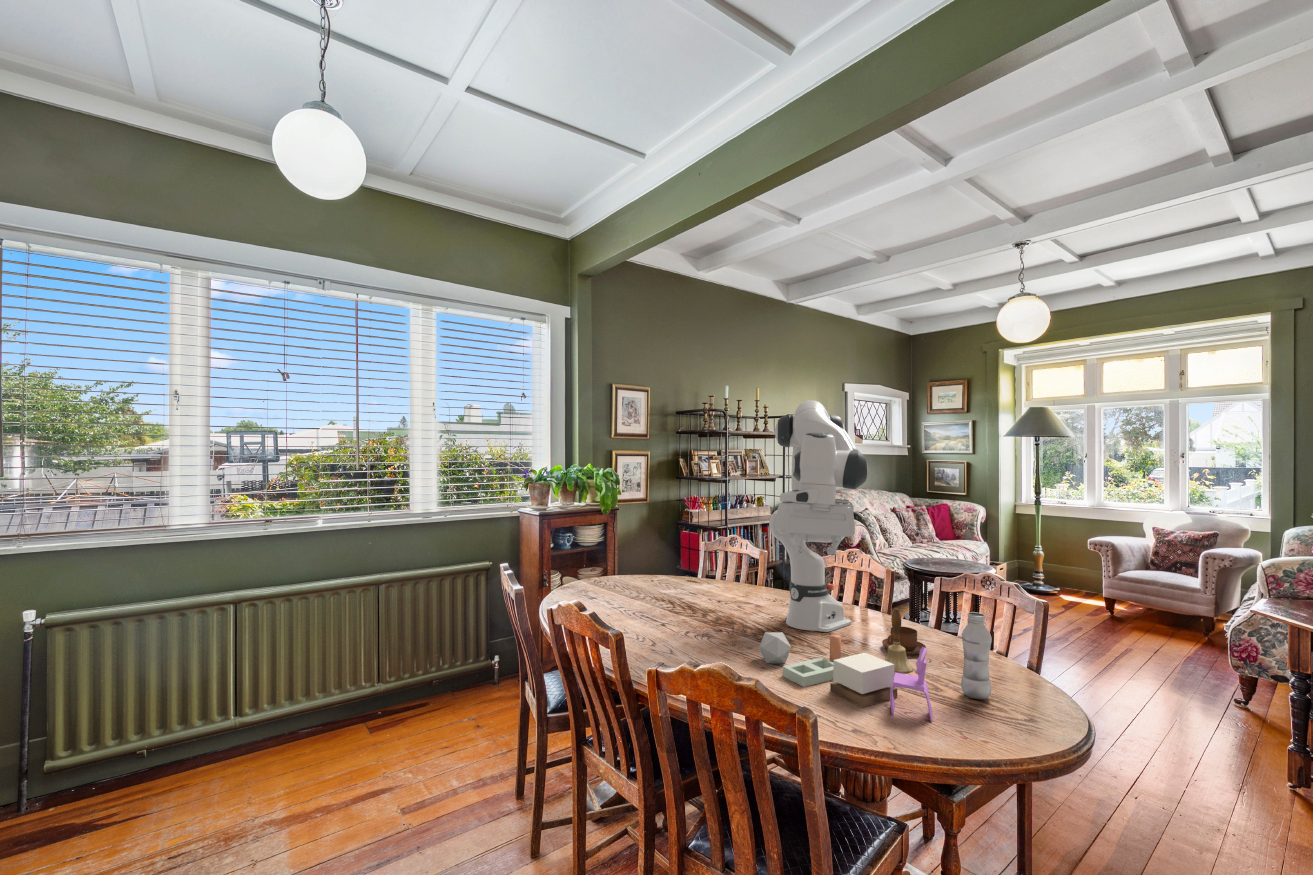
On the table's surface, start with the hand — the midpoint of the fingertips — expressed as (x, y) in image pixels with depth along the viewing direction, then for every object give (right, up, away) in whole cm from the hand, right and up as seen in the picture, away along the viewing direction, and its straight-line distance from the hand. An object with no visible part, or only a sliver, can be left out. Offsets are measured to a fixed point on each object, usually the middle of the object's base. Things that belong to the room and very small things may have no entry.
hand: (814, 554), depth 143 cm
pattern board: (+12, -34, 0) cm, 36 cm away
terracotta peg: (+11, -35, +19) cm, 41 cm away
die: (-5, -35, +22) cm, 41 cm away
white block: (+12, -32, 0) cm, 34 cm away
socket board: (+3, -34, +11) cm, 36 cm away
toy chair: (+20, -35, -9) cm, 41 cm away
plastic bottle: (+39, -35, -1) cm, 52 cm away
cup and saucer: (+35, -35, +31) cm, 59 cm away
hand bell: (+27, -35, +18) cm, 48 cm away
